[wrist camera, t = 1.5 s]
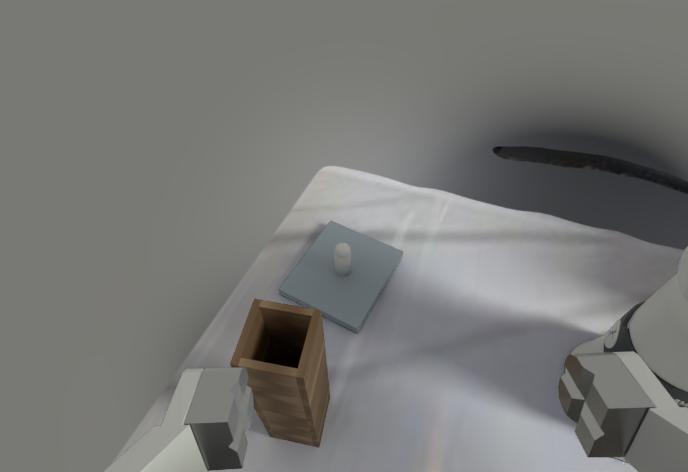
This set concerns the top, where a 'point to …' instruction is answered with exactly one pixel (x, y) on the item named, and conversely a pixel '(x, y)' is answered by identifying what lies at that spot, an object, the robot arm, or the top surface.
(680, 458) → the robot arm
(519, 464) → the top surface
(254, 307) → the walnut sleeve
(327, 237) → the base plate
